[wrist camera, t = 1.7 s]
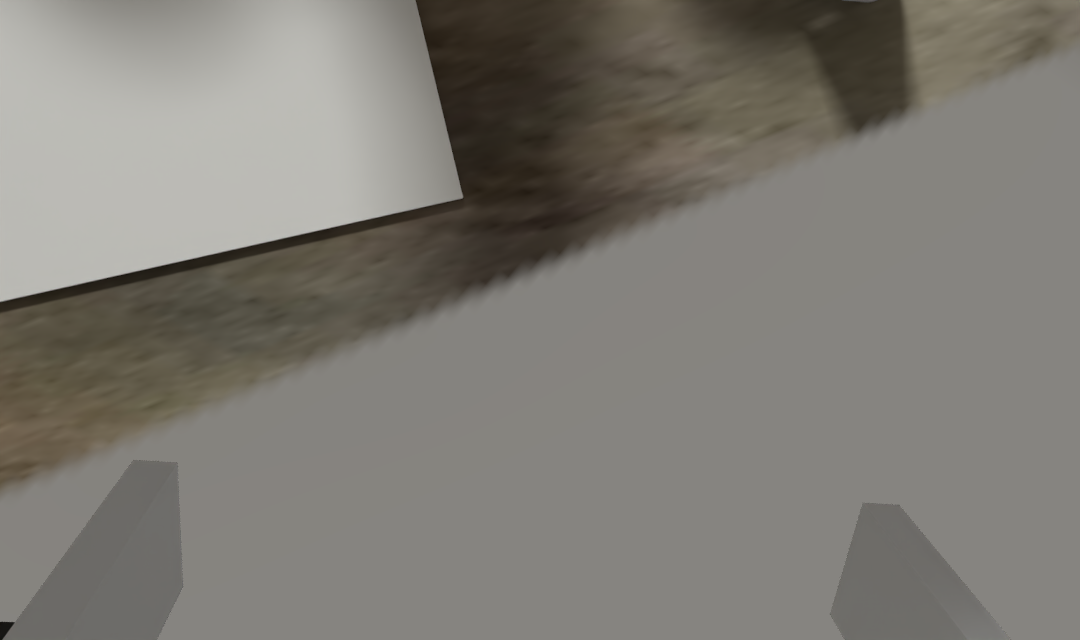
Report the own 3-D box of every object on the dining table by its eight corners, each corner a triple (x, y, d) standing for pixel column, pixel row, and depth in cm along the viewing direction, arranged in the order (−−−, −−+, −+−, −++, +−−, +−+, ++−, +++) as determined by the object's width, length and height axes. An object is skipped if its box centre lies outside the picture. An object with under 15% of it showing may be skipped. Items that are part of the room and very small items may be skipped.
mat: (-31, 309, 36) (-35, 309, 36) (-119, 9, 35) (-125, 6, 35) (462, 198, 40) (463, 197, 39) (395, -79, 39) (395, -83, 38)
